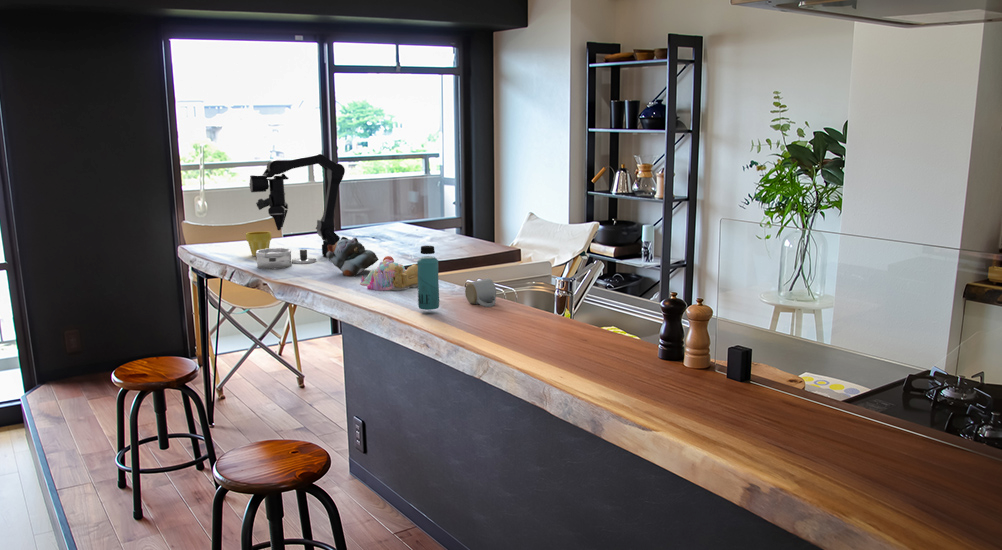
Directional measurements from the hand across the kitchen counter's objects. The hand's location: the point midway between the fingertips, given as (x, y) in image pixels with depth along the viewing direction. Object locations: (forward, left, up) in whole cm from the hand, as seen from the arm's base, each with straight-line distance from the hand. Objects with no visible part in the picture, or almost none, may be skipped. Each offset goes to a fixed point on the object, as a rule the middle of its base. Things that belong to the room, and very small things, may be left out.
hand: (280, 228), depth 309 cm
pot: (+2, +15, -13) cm, 20 cm away
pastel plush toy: (-41, +60, -14) cm, 74 cm away
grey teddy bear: (-28, +37, -13) cm, 48 cm away
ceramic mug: (-66, +96, -13) cm, 118 cm away
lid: (-9, +7, -13) cm, 18 cm away
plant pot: (+10, -14, -13) cm, 21 cm away
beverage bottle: (-48, +104, -13) cm, 116 cm away
